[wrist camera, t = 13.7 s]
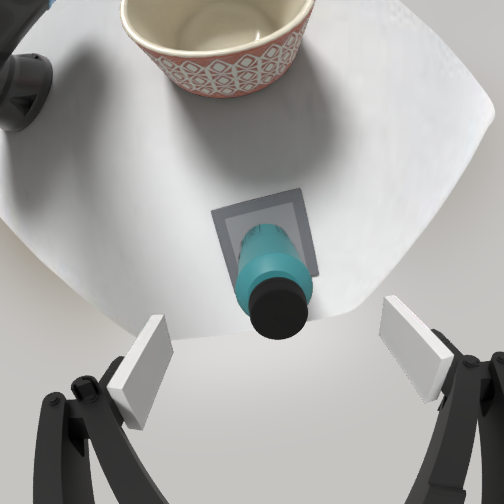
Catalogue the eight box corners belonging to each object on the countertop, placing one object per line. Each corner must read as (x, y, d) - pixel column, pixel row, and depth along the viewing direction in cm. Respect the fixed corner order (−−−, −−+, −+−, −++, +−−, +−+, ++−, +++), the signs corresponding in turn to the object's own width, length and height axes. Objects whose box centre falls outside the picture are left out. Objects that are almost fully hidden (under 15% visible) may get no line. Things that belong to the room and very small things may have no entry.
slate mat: (235, 293, 39) (235, 294, 39) (211, 210, 36) (210, 211, 36) (318, 273, 38) (319, 274, 38) (300, 188, 35) (300, 188, 35)
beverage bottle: (235, 227, 36) (213, 285, 17) (284, 214, 36) (318, 258, 17) (248, 273, 38) (242, 366, 19) (296, 260, 38) (334, 344, 18)
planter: (268, 120, 33) (276, 84, 19) (140, 83, 32) (87, 46, 17) (314, 17, 29) (338, -42, 14) (195, -12, 27) (174, -69, 13)
